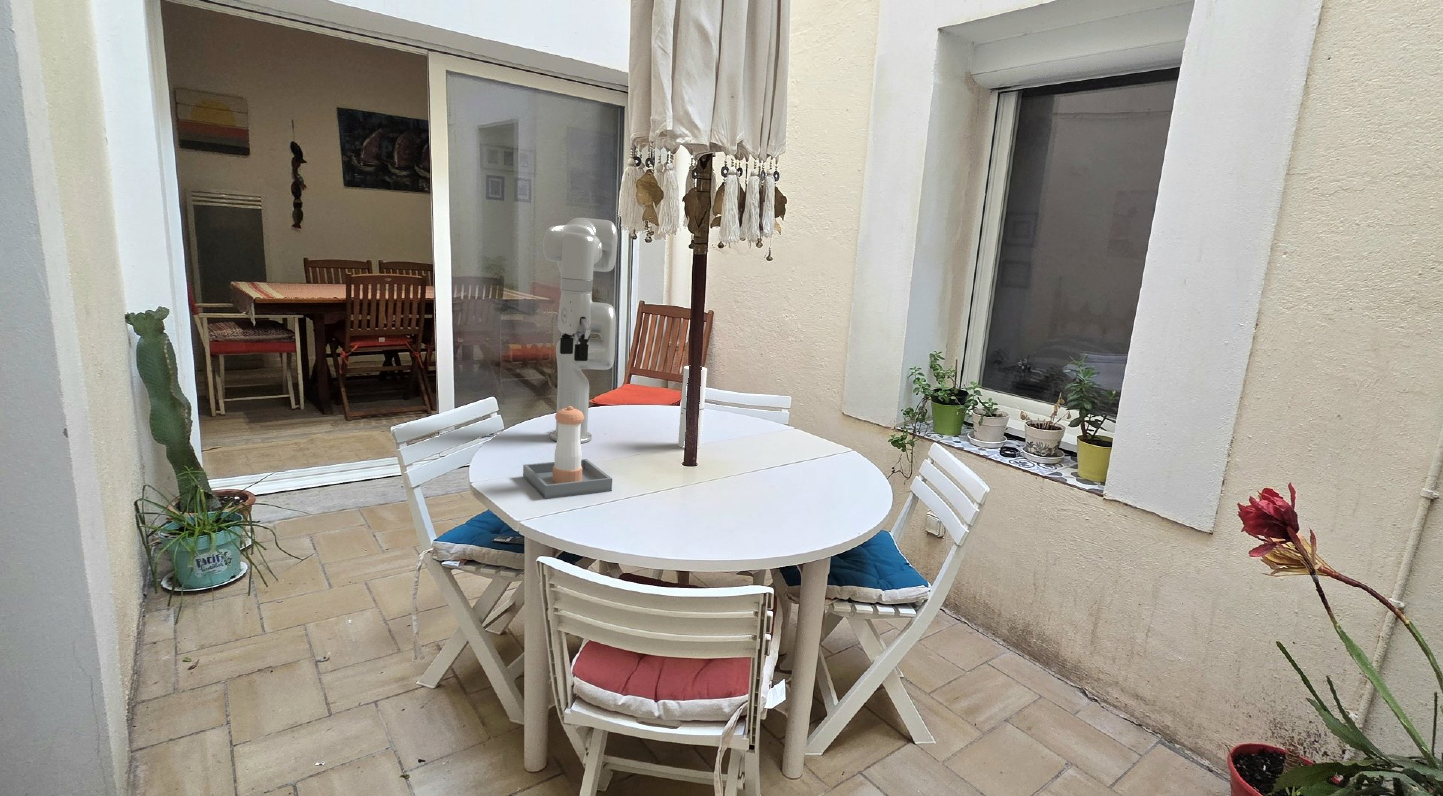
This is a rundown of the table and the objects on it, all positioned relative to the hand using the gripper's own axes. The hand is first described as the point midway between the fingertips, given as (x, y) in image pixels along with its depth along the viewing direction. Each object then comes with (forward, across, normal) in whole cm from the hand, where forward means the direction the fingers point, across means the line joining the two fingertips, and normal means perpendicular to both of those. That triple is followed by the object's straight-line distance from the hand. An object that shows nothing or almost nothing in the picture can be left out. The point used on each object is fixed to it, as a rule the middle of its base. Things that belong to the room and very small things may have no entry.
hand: (573, 357), depth 171 cm
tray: (+32, +1, 0) cm, 32 cm away
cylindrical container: (+33, -21, +47) cm, 61 cm away
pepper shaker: (+32, 0, 0) cm, 32 cm away
